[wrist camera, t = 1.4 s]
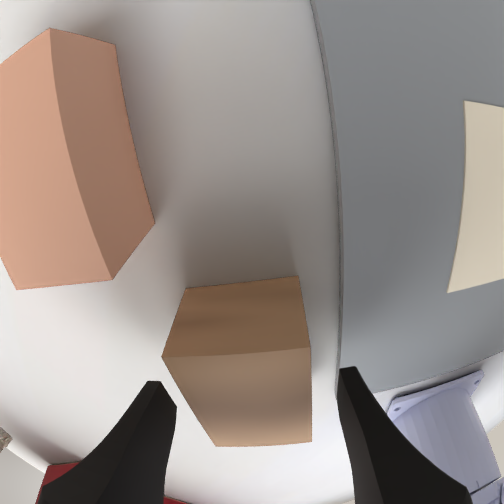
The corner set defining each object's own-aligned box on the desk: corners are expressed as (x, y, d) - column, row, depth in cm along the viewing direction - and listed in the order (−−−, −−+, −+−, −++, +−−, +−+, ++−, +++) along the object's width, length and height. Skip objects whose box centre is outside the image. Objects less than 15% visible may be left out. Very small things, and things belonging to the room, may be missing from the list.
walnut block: (305, 378, 15) (311, 441, 11) (223, 385, 15) (215, 446, 12) (297, 273, 12) (310, 347, 8) (186, 285, 12) (161, 356, 8)
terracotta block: (156, 221, 11) (112, 280, 7) (68, 239, 11) (16, 290, 8) (117, 45, 7) (49, 28, 4) (29, 92, 8) (-40, 103, 4)
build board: (524, 333, 14) (529, 339, 13) (334, 392, 15) (336, 401, 15) (557, 20, 3) (564, 19, 3) (290, -67, 5) (292, -76, 4)
